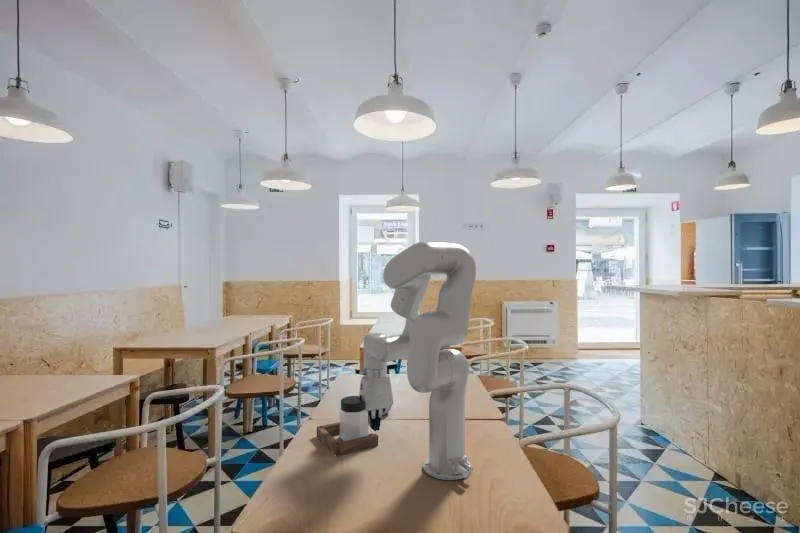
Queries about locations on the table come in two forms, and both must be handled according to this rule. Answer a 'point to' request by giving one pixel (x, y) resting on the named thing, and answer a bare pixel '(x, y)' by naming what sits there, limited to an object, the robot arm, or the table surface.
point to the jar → (353, 418)
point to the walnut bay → (346, 446)
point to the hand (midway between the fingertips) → (375, 429)
